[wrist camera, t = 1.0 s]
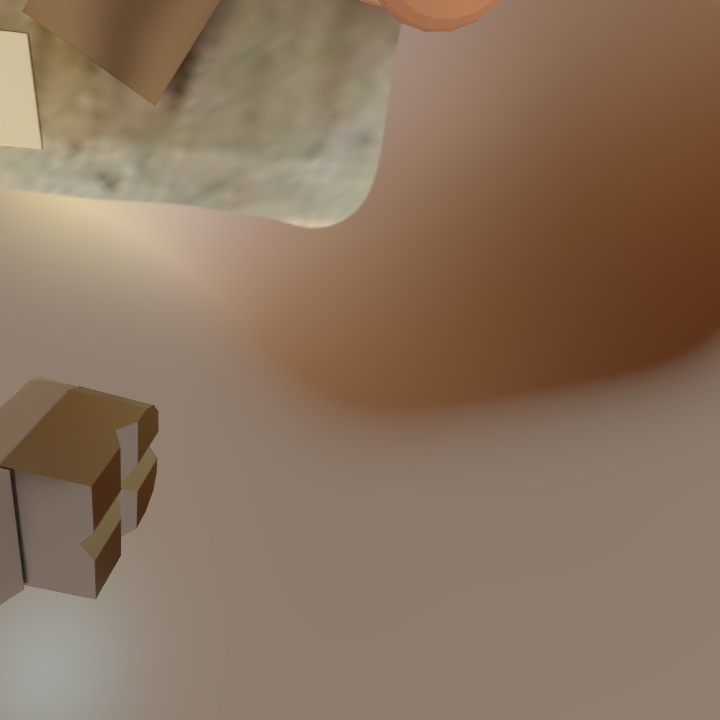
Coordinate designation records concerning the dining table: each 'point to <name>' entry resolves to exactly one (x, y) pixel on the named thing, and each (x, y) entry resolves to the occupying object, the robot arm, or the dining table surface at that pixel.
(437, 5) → the pepper shaker
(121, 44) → the walnut block
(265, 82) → the dining table surface
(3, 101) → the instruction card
